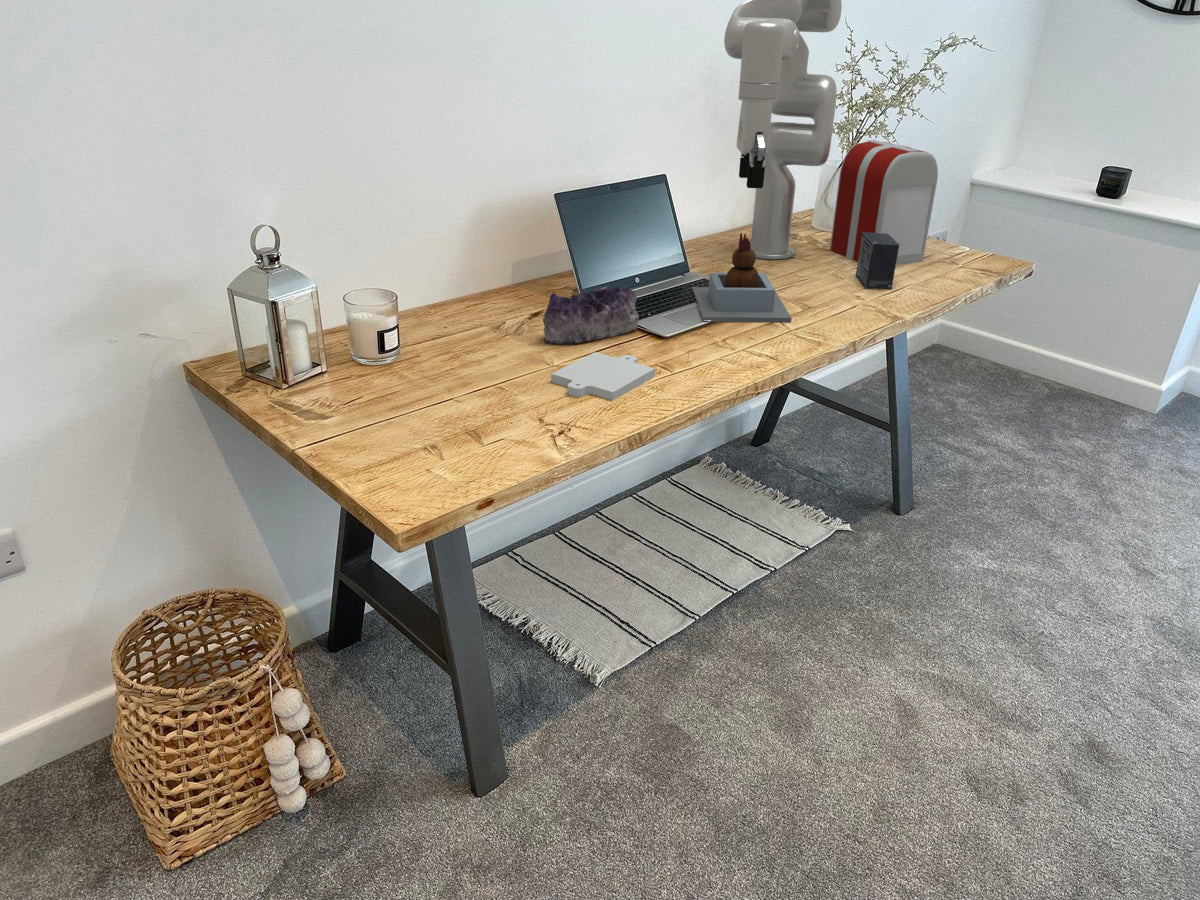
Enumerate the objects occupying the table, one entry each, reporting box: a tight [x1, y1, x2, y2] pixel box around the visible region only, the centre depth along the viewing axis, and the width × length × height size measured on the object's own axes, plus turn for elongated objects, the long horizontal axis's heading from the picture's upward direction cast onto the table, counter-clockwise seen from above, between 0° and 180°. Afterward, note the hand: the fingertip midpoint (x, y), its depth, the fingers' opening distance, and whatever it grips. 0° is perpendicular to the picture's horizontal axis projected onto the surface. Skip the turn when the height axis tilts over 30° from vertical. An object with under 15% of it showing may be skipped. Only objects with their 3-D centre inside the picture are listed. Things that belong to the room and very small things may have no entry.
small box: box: [855, 232, 899, 290], centre depth 212 cm, size 11×6×10 cm, turn 179°
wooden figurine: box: [725, 232, 759, 288], centre depth 194 cm, size 7×6×15 cm
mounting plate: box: [550, 351, 656, 401], centre depth 161 cm, size 18×13×2 cm
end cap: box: [692, 272, 792, 323], centre depth 196 cm, size 20×18×6 cm
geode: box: [542, 285, 640, 346], centre depth 179 cm, size 20×12×10 cm, turn 128°
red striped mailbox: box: [829, 139, 939, 266], centre depth 229 cm, size 17×18×27 cm
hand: (750, 182), depth 186 cm, fingers open, 9 cm apart
